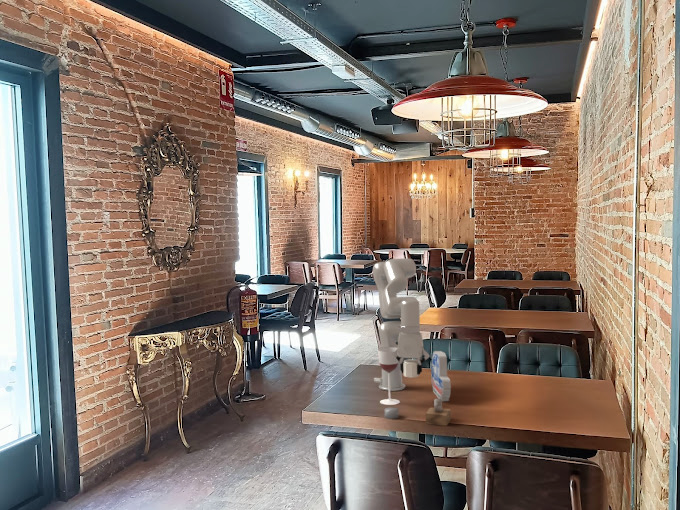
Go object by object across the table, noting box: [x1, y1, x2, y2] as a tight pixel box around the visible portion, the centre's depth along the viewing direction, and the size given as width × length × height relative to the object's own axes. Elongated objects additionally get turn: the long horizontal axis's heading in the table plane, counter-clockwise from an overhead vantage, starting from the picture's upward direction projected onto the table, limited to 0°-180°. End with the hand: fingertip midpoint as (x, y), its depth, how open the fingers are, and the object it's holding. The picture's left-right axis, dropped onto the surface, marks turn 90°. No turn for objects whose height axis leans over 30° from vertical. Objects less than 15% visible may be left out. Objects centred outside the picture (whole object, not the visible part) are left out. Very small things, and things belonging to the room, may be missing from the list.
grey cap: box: [384, 406, 400, 420], centre depth 230 cm, size 6×6×3 cm
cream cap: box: [402, 358, 420, 379], centre depth 235 cm, size 6×6×6 cm
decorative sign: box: [430, 350, 452, 403], centre depth 256 cm, size 24×3×20 cm, turn 3°
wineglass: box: [377, 347, 401, 406], centre depth 250 cm, size 9×10×23 cm
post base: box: [425, 398, 452, 426], centre depth 222 cm, size 8×8×8 cm
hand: (411, 372), depth 236 cm, fingers closed on cream cap, 6 cm apart
